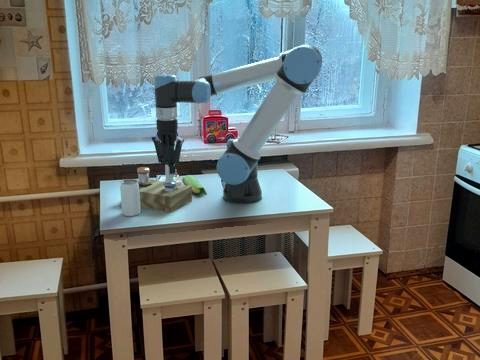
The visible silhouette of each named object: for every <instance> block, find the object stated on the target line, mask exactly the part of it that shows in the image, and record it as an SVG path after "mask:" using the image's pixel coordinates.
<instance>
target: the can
mask: <svg viewBox="0 0 480 360" xmlns="http://www.w3.org/2000/svg"><path fill="white" fill-rule="evenodd" d="M137 182H138V180H137V179H132V178H129V179H124V180H123V179H122V180H121V181H120V186H119V190H120V191H119V192H120V203H121V213H122V215H123V216H124V217H136V216H139V215H140V214H141V207H140V195H139V185H138V183H137Z"/></svg>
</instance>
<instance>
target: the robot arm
mask: <svg viewBox="0 0 480 360" xmlns="http://www.w3.org/2000/svg"><path fill="white" fill-rule="evenodd" d="M322 57H323V56H322V54H321V52H320V50H318V48H317V47H315V46H314V45H311V44H300V45H297V46H294V47H293V48H291V49H290V50H287V51H285V52H284V51H283V52H281V53H280V54H279V56H277V57H273V58H269V59H266V60H261V61H258V62H255V63H254V62H253V63H250V64H246V65H243V66H242V65H241V66H238V67H235V68H231V69H228V70H224V71H221V72H217V73H214V74H209V75H203V76H200V77H198V78H195V79H192V80H178V79H177V78H176V77H177V76H176V75H175V74H169V73H168V74H165V73H163V74H157V75H155V77H154V87H153V89H154V99H155V117H156V121H155V123H156V125H155V126H156V130H157V131H156V135H154V136H151V141H152V142H153V144H154V149H155V153H156V157H157V161H158V163H160V164H162V165H163V173H164V175H165V181H166V183H170V182H173V181H174V174H175V173H176V172H175V165H177V164H179V163H180V159H181V152H182V147H183V144H184V142H185V139H184V138H181V137H180V136H179V133H178V127H179V125H178V124H179V123H178V119H177V118H178V104H177V103H179V104H180V103H187V104H188V103H189V104H190V103H191V104H207V103H209V102H210V100H211V97H213V96H217V95H221V94H225V93H229V92H231V91H232V92H233V91H237V90H240V89H244V88H248V87H253V86H256V85H260V84H261V85H262V84H264V83H269V82H273V81H275V83H273V86H272V87H271V89H270V90H269V91H268V92H267V95H266V96H265V98H264V100H263V101H262V102H261V103H260V105H259V107H258V109H256V111H255V113H254V115H253V116H252V118H251V119H250V121H249V122H248V124H247V125H246V127H245V128H244V130H243V131H242V133H241V135H239V137H237V138H230V139H227V141H226V149H225V151H224V152H223V154H222V155H221V156H220V157H219V159H218V160H217V164H216V172H217V174H218V177H219V178H220V179H221V180H222V181H223V182H224V184H225V186H224V188H223V191H222V193H223V194H222V198H223V199H224V200H225V201H228V202H230V203H235V204H236V203H237V204H249V203H254V202H257V201H260V200H261V199H262V197H263V194H262V193H263V192H262V191H263V190H262V188H261V185H260V181H259V178H258V168H259V167H258V162H259V161H260V160H261V158H262V157H261V150H262V148H263V147H264V146H265V144H266V142H267V141H268V140H269V138H270V137H271V135H272V134H273V133H274V131H275V129H276V128H277V127H278V125H279V123H280V122H281V120H282V119H283V117H285V115H286V113H287V112H288V110H289V109H290V107H291V106H292V104H293V103H294V101H295V100H296V99H297V98H298V96H299V95H303V94H305V93H306V92H307V91H308V89H309V88H310V86H311V84H312V83H313V82H314V81H315V79H317V77H318V75H319V74H320V72H321V69H322V67H323V58H322Z"/></svg>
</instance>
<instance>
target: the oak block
mask: <svg viewBox="0 0 480 360" xmlns="http://www.w3.org/2000/svg"><path fill="white" fill-rule="evenodd" d="M164 182H165V181H161V180H155V179H150V178H149V185H150V186H148V187H146V188H144V187H139V195H140V208H141V207H142V208H146V209H152V210H156V211H161V212H166V213H172V212H173V213H174V212H175V211H176V210H178V209H180V208H182V207H184V206H186V205H188V204H190V203H191V202H193V192H192V186H188V185H184V184H181V183H176V186H175V189H176V190H175V191H173V192H168V191H165V187H164ZM137 183H138V185H139V180H137Z"/></svg>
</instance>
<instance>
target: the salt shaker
mask: <svg viewBox="0 0 480 360" xmlns="http://www.w3.org/2000/svg"><path fill="white" fill-rule="evenodd" d="M163 182H164V187H165V191H168V192H173V191H175V190H176V189H175V186H176V184H177V181H176V180H173V182H170V183H166V180H165V181H163Z"/></svg>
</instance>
